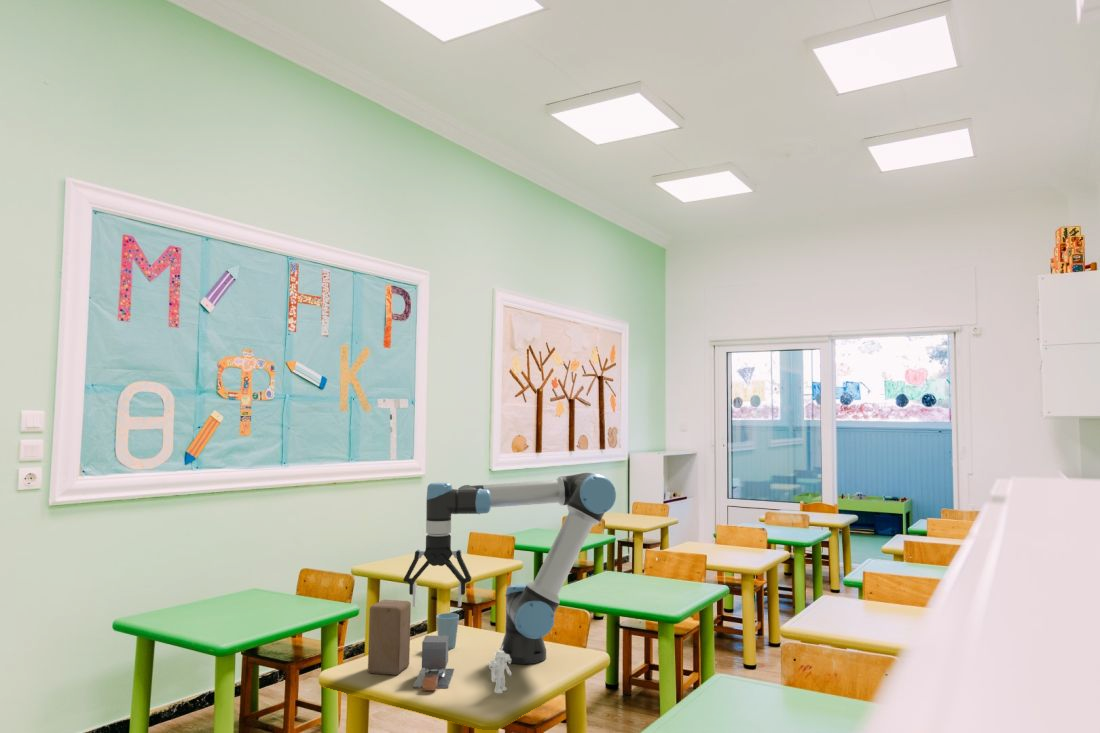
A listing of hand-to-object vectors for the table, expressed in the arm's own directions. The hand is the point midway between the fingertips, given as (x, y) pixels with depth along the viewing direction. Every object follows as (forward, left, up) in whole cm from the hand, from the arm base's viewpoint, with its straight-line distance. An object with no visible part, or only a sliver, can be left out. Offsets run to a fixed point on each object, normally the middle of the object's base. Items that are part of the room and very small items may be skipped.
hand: (437, 605), depth 222 cm
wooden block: (+15, -6, -21) cm, 26 cm away
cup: (0, -30, -21) cm, 36 cm away
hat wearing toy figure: (-20, +12, -21) cm, 31 cm away
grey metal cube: (0, 0, -17) cm, 17 cm away
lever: (0, +4, -21) cm, 21 cm away
